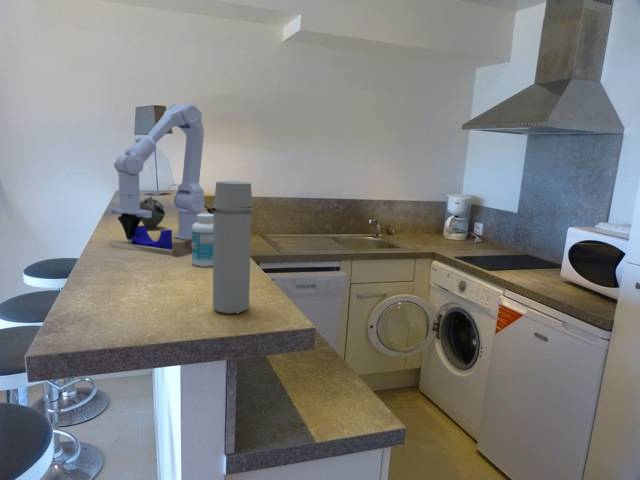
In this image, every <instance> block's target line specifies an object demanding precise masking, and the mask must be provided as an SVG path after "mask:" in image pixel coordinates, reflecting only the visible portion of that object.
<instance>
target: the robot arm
mask: <svg viewBox="0 0 640 480" xmlns="http://www.w3.org/2000/svg"><path fill="white" fill-rule="evenodd" d="M202 116H203V113H202V111H201V110H200V108H199V107H198V106H197V105H195V104H194V103H188V104H175V103H174V104H172V105H170V106H169V107H168V109H166V110H165V111H164V113H163V115H162V117H161V118H159V120H158V121H157V123H156V124H155V125H154V126H153V128H152V129H151V130H150V131H149V133H148V134H146V135H141V136H137V137H136V138H134V141H135V142H134V143H132V145H131V146H130V147H129V148H126V150H124V153H123V154H121V155H118V156H117V158H116V159H115V163H114V164H113V166H114V169H115V170H116V171H117V173H118V175H117V176H118V194H119V195H118V198H119V200H118V201H119V207H117V206H110V207H108V214H111V215H113V214H115V215H120V216H118V217H117V220H118V221H119V223H120V224H121V226H122V228H123V230H124V234H125V236H126V240H128V239H129V240H131V237H134V236H135V227H136V226H140V223H141V222H142V221H141V219H142V217H145V218H151V217H152V211H147V210H143V209H140V201H141V200H140V197H141V196H140V193H141V191H140V172H143V169H144V163H146V161H147V160H148V159H149V158H150V157H151V156H152V154H153V153H155V151H156V150H157V143H158V142H159V141H160V140H161V139H162V138H163V137H164V136H165V135H167V133H168V132H169V131H170V130H171V129H172V128H174V127H178V128H179V129H181V130H182V131H183V133H184V134H185V136H186V139H185V149H184V158H183V159H184V162H183V170H182V180H181V181H182V182H181V183H180V184H179V185H178V186H177V190H176V193H175V195H174V197H173V204H174V206H175V207H176V209H177V212H178V214H177V215H178V217H177V218H178V219H177V220H178V234H177V235H172V239H173V238H174V239H179V240H183V239H187V238H191V237H192V225H193V224H194V223H196V222H198V220H197V214H205V213H204V212H203V209H204V207H205V204H206V200H205V197H204V193H205V192H204V189H203V188H202V186H201V185H200V178H201V168H202V157H203V148H204V147H203V146H204V137H205V131H204V126H203V122H202V119H203V117H202Z"/></svg>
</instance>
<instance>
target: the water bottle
mask: <svg viewBox="0 0 640 480" xmlns="http://www.w3.org/2000/svg"><path fill="white" fill-rule="evenodd" d="M252 192H253V191H252V183H251V182H249V181H235V180H234V181H233V180H227V181H226V180H221V181H220V180H219V181H216V182H215V192H214V201H213V205H212V206H211V208H213V209H215V210H214V211H213V214H214V216H213V266H212V269H213V270H212V308H213V309H214V310H215V311H216V312H217V311H218V313H219V312H223V313H237V312H242V311H244V312H246V311H247V310H248V309H249V306H250V285H251V284H250V279H251V278H250V277H251V275H250V273H251V241H252V239H251V238H252V237H251V236H252V235H251V234H252V233H251V232H252V230H251V229H252V228H251V227H252V212H251V211H254V210H255V208H253V195H252ZM245 310H246V311H245ZM223 313H222V314H223ZM242 313H243V312H242Z"/></svg>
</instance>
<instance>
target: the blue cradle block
mask: <svg viewBox="0 0 640 480" xmlns="http://www.w3.org/2000/svg"><path fill="white" fill-rule="evenodd" d="M159 234H160V235H159V237H158V240H153V239H152V238H151V236H150V235H149V233H148V230H147V229H146V226H144V224H141V225H138V226H136V227H135V236H134V237H131V243H130V244H134V245H141V246H148V247H155V248H162V249H169V250H173V248H172V243H173V230H172V229H162V230H160V233H159ZM155 241H157V242H155Z"/></svg>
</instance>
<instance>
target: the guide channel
mask: <svg viewBox="0 0 640 480" xmlns="http://www.w3.org/2000/svg"><path fill="white" fill-rule="evenodd" d="M154 241H155V242H157V241H158V240H154ZM127 242H128V243H127ZM127 242H119V241H111V242H109V247H110V248H111V247H112V248H117V249H118V248H120V249H127V250H132V251H140V252H147V253H154V254H160V255H167V256H172V257H177V258H180V257H182V256H185V255H189V254H192V237H191V238H187V239H179V240H176V241H172V250H169V249H162V248H155V247H148V246H141V245H134V244H131V240H129V239H127Z"/></svg>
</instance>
